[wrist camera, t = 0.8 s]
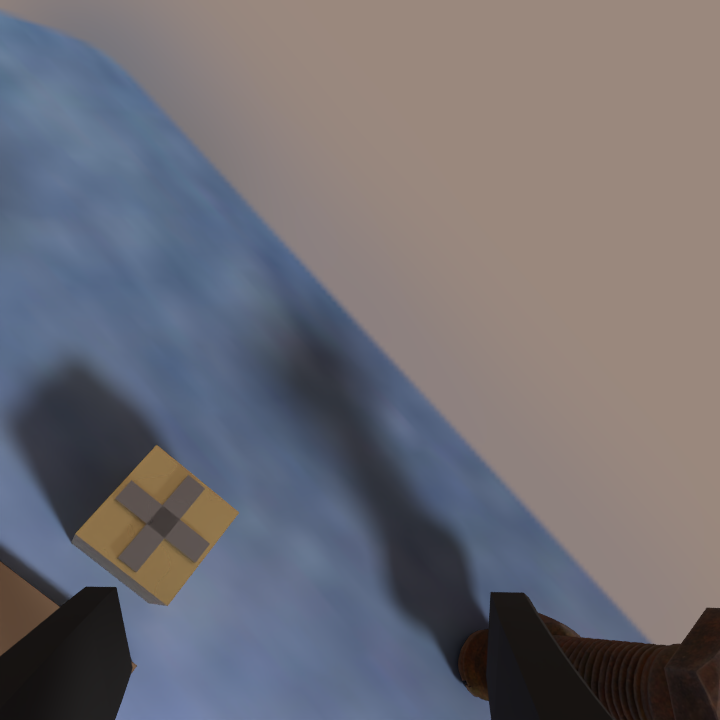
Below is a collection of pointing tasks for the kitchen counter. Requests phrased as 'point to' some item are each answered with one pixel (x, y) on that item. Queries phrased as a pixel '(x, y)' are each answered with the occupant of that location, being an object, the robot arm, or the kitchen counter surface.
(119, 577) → the gold square block
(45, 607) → the coupling base
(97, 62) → the kitchen counter surface
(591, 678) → the bolt
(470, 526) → the kitchen counter surface
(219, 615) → the kitchen counter surface
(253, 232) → the kitchen counter surface
